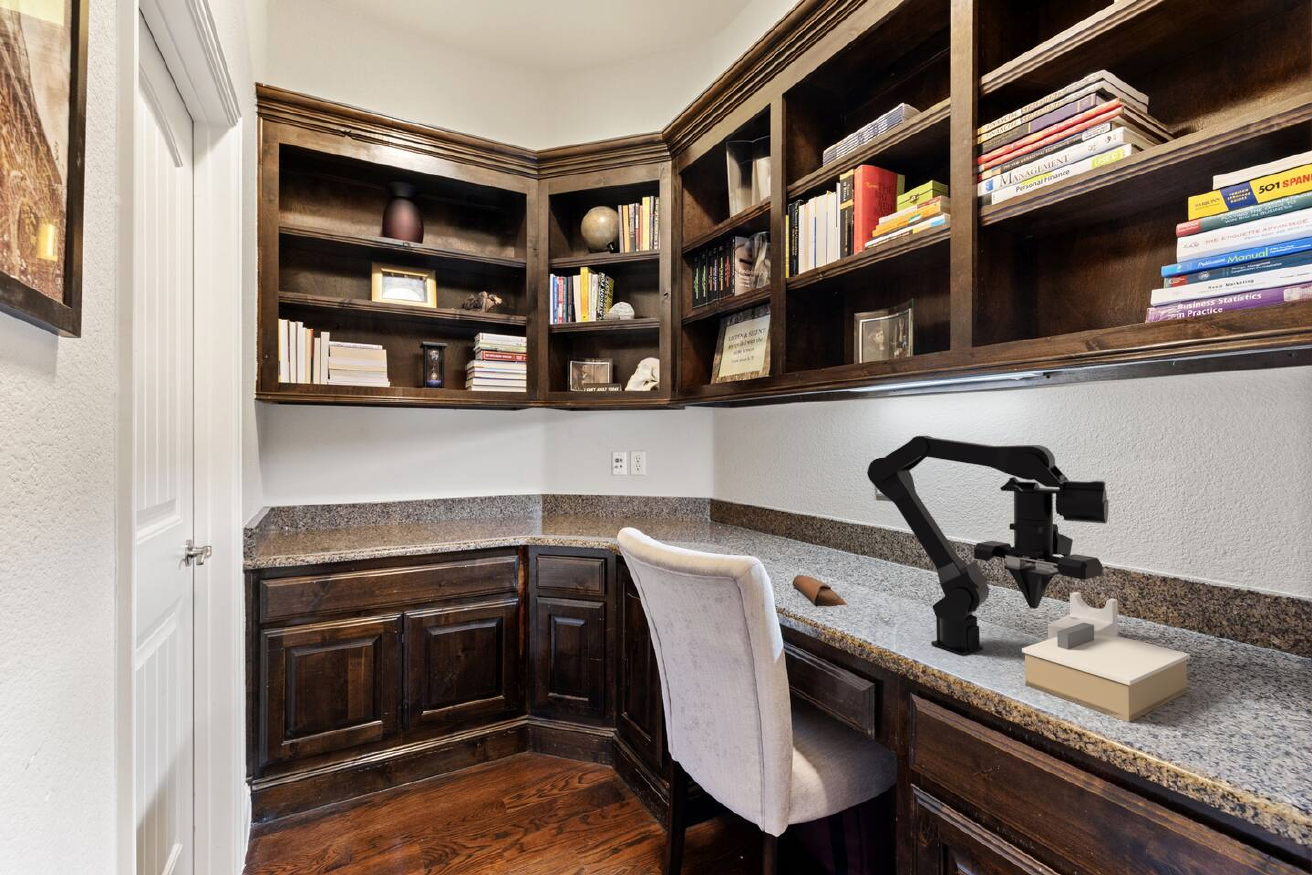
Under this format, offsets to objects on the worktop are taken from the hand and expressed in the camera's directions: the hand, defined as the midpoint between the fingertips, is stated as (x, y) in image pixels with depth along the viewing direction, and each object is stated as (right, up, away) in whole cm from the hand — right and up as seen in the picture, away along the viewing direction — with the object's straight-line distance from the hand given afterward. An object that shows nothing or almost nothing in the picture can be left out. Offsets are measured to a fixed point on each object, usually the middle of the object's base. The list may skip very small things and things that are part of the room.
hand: (1033, 608), depth 104 cm
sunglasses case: (-25, -10, +45) cm, 52 cm away
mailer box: (+5, -10, -10) cm, 15 cm away
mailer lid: (+5, -4, -10) cm, 12 cm away
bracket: (+17, -10, +11) cm, 22 cm away
